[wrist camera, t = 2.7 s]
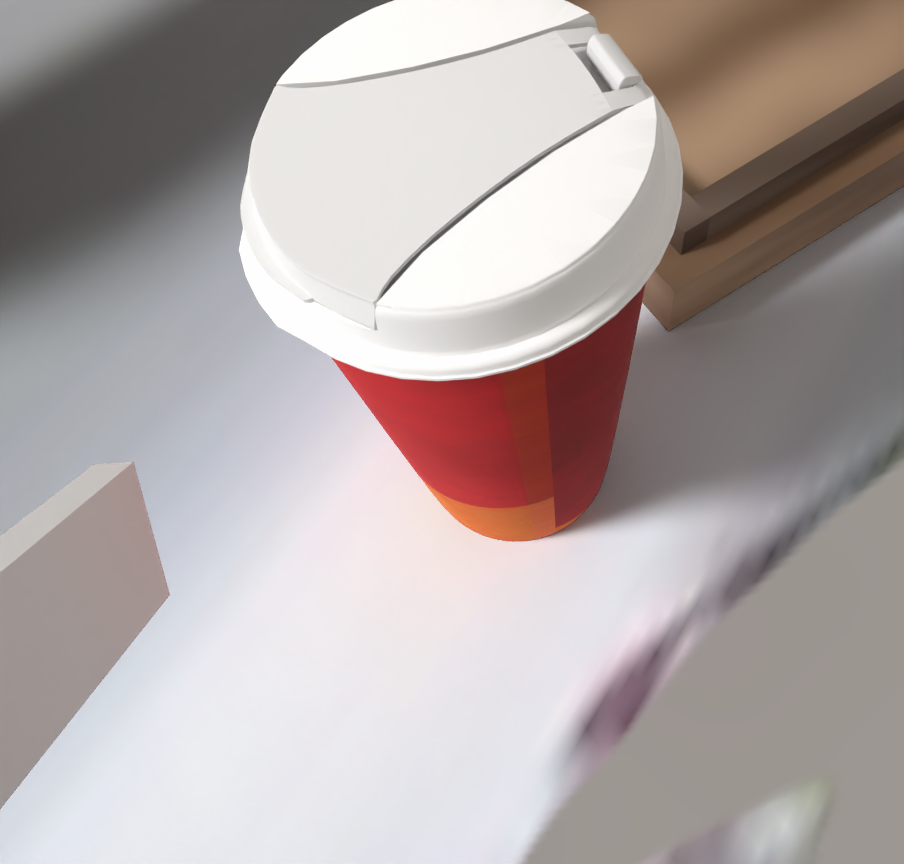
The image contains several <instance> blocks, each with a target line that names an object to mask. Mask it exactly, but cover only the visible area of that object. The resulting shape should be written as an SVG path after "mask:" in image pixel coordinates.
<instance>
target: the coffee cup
mask: <svg viewBox="0 0 904 864" xmlns="http://www.w3.org/2000/svg"><path fill="white" fill-rule="evenodd" d="M276 85H277V86H275V87H274V89H273V92H272V94H271V96H270V98H269V100H268V102H267V105H266V107H265V109H264V111H263V113H262V116H261V118H260V121H259V124H258V126H257V129H256V132H255V134H254V137H253V140H252V144H251V150H250V157H249V163H248V170H247V175H246V179H245V184H244V188H243V192H242V198H241V205H240V207H241V220H242V224H243V232H242V237H241V243H240V248H239V252H240V256H241V260H242V263H243V267H244V271H245V275H246V278H247V280H248V282H249V284H250V286H251V288H252V290H253V292H254V294H255V296H256V298H257V300H258V302H259V303H260V305H261V306H262V307H263V309H264V310H265V311H266V312H267V314H268V315H269V316H270V318H271V319H272V320H273V322H274V323H275V324H276V325H277V326H278V327H280V328H281V329H283V330H285V331H287V332H289V333H291V334H292V335H294V336H296V337H298V338H300V339H302V340H303V341H305V342H307V343H309V344H310V345H312V346H314V347H315V348H317V349H319V350H320V351H322V352H324V353H325V354H327V355H329V356H331V357H332V359H333V360H334V361H335V363H336V364H337V366H338V367H339V368H340V370H341V371H342V372H343V374H344V375H345V376H346V378H347V379H348V380H349V382H350V383H351V385H352V386H353V387H354V389H355V390H356V391H357V393H358V394H359V395H360V397H361V398H362V400H363V401H364V402H365V404H366V405H367V406H368V408H369V409H370V410H371V412H372V413H373V414H374V416H375V417H376V419H377V420H378V421H379V423H380V424H381V425H382V427H383V428H384V429H385V431H386V432H387V434H388V435H389V436H390V438H391V439H392V440H393V442H394V443H395V444H396V446H397V447H398V448H399V450H400V451H401V452H402V454H403V455H404V456H405V458H406V459H407V460H408V462H409V463H410V464H411V466H412V467H413V468H414V470H415V471H416V472H417V474H418V475H419V476H420V478H421V479H422V480H423V482H424V483H425V484H426V485H427V487H428V488H429V489H430V491H431V492H432V493H433V494H434V496H435V497H436V498H437V499H438V500H439V502H440V503H441V504H442V505H443V506H444V508H445V509H446V510H447V511H448V512H449V513H450V514H451V515H452V516H453V517H454V518H455V519H457V520H458V521H459V522H460V523H462V524H463V525H464V526H466V527H467V528H469V529H471V530H473V531H475V532H477V533H479V534H481V535H483V536H486V537H489V538H493V539H497V540H503V541H529V540H535V539H539V538H543V537H546V536H549V535H551V534H554V533H556V532H558V531H560V530H562V529H563V528H565V527H567V526H568V525H570V524H571V523H572V522H574V521H575V520H576V519H577V518H579V517H580V516H581V515H582V514H583V513H584V511H585V510H586V509H587V508H588V507H589V505H590V504H591V503H592V501H593V500H594V498H595V496H596V495H597V493H598V491H599V489H600V487H601V484H602V482H603V479H604V476H605V473H606V470H607V466H608V462H609V458H610V454H611V450H612V445H613V441H614V436H615V432H616V427H617V422H618V418H619V413H620V408H621V403H622V398H623V394H624V389H625V384H626V379H627V374H628V369H629V364H630V359H631V354H632V349H633V344H634V339H635V334H636V329H637V324H638V319H639V314H640V309H641V304H642V299H643V295H644V290H645V285H646V282H647V280H648V279H649V277H650V276H651V275H652V273H653V272H654V270H655V269H656V267H657V266H658V265H659V263H660V261H661V259H662V257H663V255H664V253H665V251H666V249H667V246H668V244H669V242H670V240H671V238H672V236H673V234H674V230H675V226H676V222H677V218H678V215H679V211H680V207H681V202H682V185H683V168H682V161H681V155H680V148H679V143H678V141H677V138H676V135H675V133H674V130H673V127H672V125H671V122H670V119H669V117H668V116H667V114H666V113H665V111H664V109H663V108H662V106H661V105H660V103H659V101H658V100H657V98H656V97H655V95H654V94H653V92H652V91H651V89H650V88H649V87H648V86H647V85H646V84H645V82H644V81H643V78H642V76H641V74H640V73H639V72H638V70H637V69H636V68H635V67H634V65H633V64H632V63H631V61H630V60H629V59H628V57H627V56H626V55H625V54H624V52H623V51H622V50H621V48H620V47H619V46H618V44H617V43H616V42H615V41H614V39H613V38H612V37H611V35H609V34H600V33H599V31H598V30H597V25H596V20H595V18H594V17H593V16H592V15H590V13H589V12H588V11H586V10H584V9H582V8H580V7H578V6H576V5H574V4H572V3H570V2H568V1H565V0H394V1H391V2H388V3H386V4H383V5H380V6H378V7H375V8H372V9H370V10H368V11H367V12H365V13H363V14H361V15H359V16H357V17H355V18H353V19H351V20H349V21H347V22H345V23H344V24H342V25H341V26H339V27H337V28H336V29H334V30H333V31H331V32H330V33H328V34H327V35H325V36H324V37H322V38H321V39H320V40H319V41H317V42H316V43H315V44H314V45H313V46H311V47H310V48H309V49H308V50H307V51H305V52H304V53H303V54H302V55H301V56H300V57H299V58H298V59H297V60H296V61H295V62H294V63H293V64H292V65H291V66H290V68H289V69H288V70H287V71H286V72H285V73H284V74H283V75H282V77H281V78H280V79H279V81H278V82H277V84H276Z"/></svg>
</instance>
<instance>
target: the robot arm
mask: <svg viewBox="0 0 904 864" xmlns="http://www.w3.org/2000/svg"><path fill="white" fill-rule="evenodd" d="M169 595H170V594H169V590H168V587H167V583H166V579H165V576H164V572H163V568H162V565H161V561H160V557H159V554H158V550H157V546H156V543H155V539H154V535H153V532H152V528H151V524H150V521H149V517H148V513H147V510H146V506H145V502H144V499H143V495H142V491H141V488H140V484H139V480H138V477H137V473H136V469H135V466H134V462H123V463H108V464H94V465H93V466H91V467H90V468H89V469H87V470H86V471H85V472H83V473H82V474H81V475H79V476H78V477H77V478H75V479H74V480H73V481H72V482H70V483H69V484H68V485H66V486H65V487H64V488H62V489H61V490H60V491H58V492H57V493H56V494H55V495H53V496H52V497H51V498H49V499H48V500H47V501H45V502H44V503H43V504H41V505H40V506H39V507H38V508H36V509H35V510H34V511H32V512H31V513H30V514H28V515H27V516H26V517H24V518H23V519H22V520H21V521H19V522H18V523H17V524H15V525H14V526H13V527H11V528H10V529H9V530H7V531H6V532H5V533H4V534H2V535H1V536H0V809H1V808H2V806H3V805H4V804H5V803H6V801H7V800H8V799H9V797H10V796H11V795H12V794H13V792H14V791H15V790H16V789H17V787H18V786H19V785H20V784H21V782H22V781H23V780H24V779H25V777H26V776H27V775H28V773H29V772H30V771H31V770H32V768H33V767H34V766H35V765H36V763H37V762H38V761H39V760H40V758H41V757H42V756H43V754H44V753H45V752H46V751H47V749H48V748H49V747H50V746H51V744H52V743H53V742H54V741H55V739H56V738H57V737H58V736H59V734H60V733H61V732H62V730H63V729H64V728H65V727H66V725H67V724H68V723H69V722H70V720H71V719H72V718H73V717H74V715H75V714H76V713H77V711H78V710H79V709H80V708H81V706H82V705H83V704H84V703H85V701H86V700H87V699H88V698H89V696H90V695H91V694H92V693H93V691H94V690H95V689H96V687H97V686H98V685H99V684H100V682H101V681H102V680H103V679H104V677H105V676H106V675H107V674H108V672H109V671H110V670H111V668H112V667H113V666H114V665H115V663H116V662H117V661H118V660H119V658H120V657H121V656H122V655H123V653H124V652H125V651H126V650H127V648H128V647H129V646H130V644H131V643H132V642H133V641H134V639H135V638H136V637H137V636H138V634H139V633H140V632H141V631H142V629H143V628H144V627H145V625H146V624H147V623H148V622H149V620H150V619H151V618H152V617H153V615H154V614H155V613H156V612H157V610H158V609H159V608H160V607H161V605H162V604H163V603H164V601H165V600H166V599H167V598H168V596H169Z"/></svg>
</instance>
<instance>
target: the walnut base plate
mask: <svg viewBox="0 0 904 864" xmlns="http://www.w3.org/2000/svg"><path fill="white" fill-rule="evenodd" d="M565 1H568V2H570V3H572V4H574V5H576V6H578V7H580V8H582V9H584V10H586V11H588V12H589V13H590V15H592V16H593V17H594V18H595V20H596V25H597V30H598V31H599V33H600V34H609V35H611V37H612V38H613V39H614V41H615V42H616V43H617V44H618V46H619V47H620V48H621V50H622V51H623V52H624V54H625V55H626V56H627V57H628V59H629V60H630V61H631V63H632V64H633V65H634V67H635V68H636V69H637V70H638V72H639V73H640V74H641V76H642V78H643V81H644V82H645V84H646V85H647V86H648V87H649V88H650V89H651V91H652V92H653V94H654V95H655V97H656V98H657V100H658V101H659V103H660V105H661V106H662V108H663V109H664V111H665V113H666V114H667V116H668V117H669V119H670V122H671V125H672V127H673V130H674V133H675V135H676V138H677V141H678V143H679V148H680V155H681V161H682V168H683V185H682V202H681V207H680V211H679V215H678V218H677V222H676V226H675V230H674V234H673V236H672V238H671V240H670V242H669V244H668V246H667V249H666V251H665V253H664V255H663V257H662V259H661V261H660V263H659V265H658V266H657V267H656V269H655V270H654V272H653V273H652V275H651V276H650V277H649V279H648V280H647V282H646V285H645V290H644V295H643V299H642V302H643V303H644V304H645V306H646V307H647V308H648V309H649V310H650V311H651V312H652V313H653V315H654V316H655V317H656V318H657V319H658V320H659V321H660V323H661V324H662V325H663V326H664V327H665V328H666V329H667V330H668V331H670V330H671V329H673V328H675V327H676V326H678V325H680V324H681V323H683V322H684V321H686V320H688V319H689V318H691V317H692V316H694V315H696V314H697V313H699V312H701V311H702V310H704V309H705V308H707V307H709V306H710V305H712V304H714V303H715V302H717V301H718V300H720V299H722V298H723V297H725V296H726V295H728V294H730V293H731V292H733V291H735V290H736V289H738V288H739V287H741V286H743V285H744V284H746V283H747V282H749V281H751V280H752V279H754V278H756V277H757V276H759V275H760V274H762V273H764V272H765V271H767V270H769V269H770V268H772V267H773V266H775V265H777V264H778V263H780V262H781V261H783V260H785V259H786V258H788V257H790V256H791V255H793V254H794V253H796V252H798V251H799V250H801V249H802V248H804V247H806V246H807V245H809V244H811V243H812V242H814V241H815V240H817V239H819V238H820V237H822V236H823V235H825V234H827V233H828V232H830V231H832V230H833V229H835V228H836V227H838V226H840V225H841V224H843V223H845V222H846V221H848V220H849V219H851V218H853V217H854V216H856V215H857V214H859V213H861V212H862V211H864V210H866V209H867V208H869V207H870V206H872V205H874V204H875V203H877V202H878V201H880V200H882V199H883V198H885V197H887V196H888V195H890V194H891V193H893V192H895V191H896V190H898V189H900V188H901V187H903V186H904V0H565Z"/></svg>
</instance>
